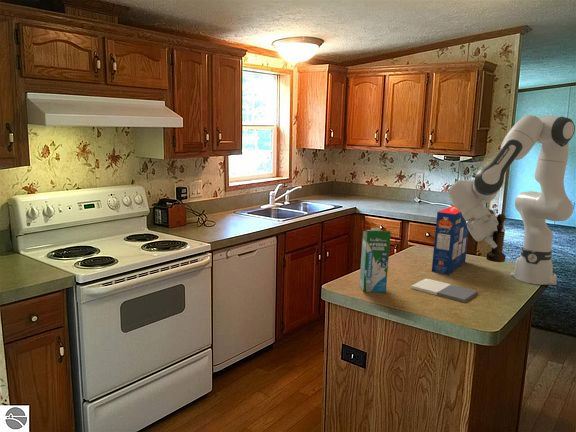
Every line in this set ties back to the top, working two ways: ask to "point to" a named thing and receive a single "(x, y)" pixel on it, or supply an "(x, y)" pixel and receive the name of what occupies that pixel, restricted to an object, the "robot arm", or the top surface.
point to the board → (445, 290)
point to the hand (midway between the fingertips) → (499, 246)
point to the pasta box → (449, 241)
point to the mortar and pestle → (498, 242)
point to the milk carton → (374, 260)
